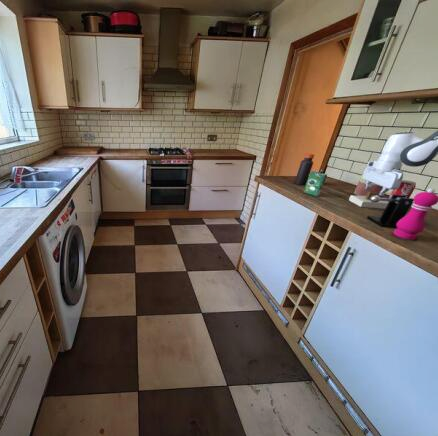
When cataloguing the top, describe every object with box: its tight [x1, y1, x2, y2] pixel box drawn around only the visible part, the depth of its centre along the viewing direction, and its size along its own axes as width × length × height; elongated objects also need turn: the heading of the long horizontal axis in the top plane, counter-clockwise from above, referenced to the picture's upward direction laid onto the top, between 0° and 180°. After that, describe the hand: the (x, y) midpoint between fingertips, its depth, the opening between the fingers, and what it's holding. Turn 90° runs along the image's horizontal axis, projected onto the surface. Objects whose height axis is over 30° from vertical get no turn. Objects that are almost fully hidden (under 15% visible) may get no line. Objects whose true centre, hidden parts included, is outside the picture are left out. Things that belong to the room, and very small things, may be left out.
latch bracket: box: [366, 194, 414, 229], centre depth 99 cm, size 12×9×13 cm
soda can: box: [388, 179, 417, 202], centre depth 121 cm, size 7×7×13 cm
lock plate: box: [348, 194, 389, 210], centre depth 122 cm, size 14×10×3 cm
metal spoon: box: [370, 195, 404, 203], centre depth 97 cm, size 13×3×3 cm, turn 81°
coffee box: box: [303, 170, 328, 197], centre depth 133 cm, size 8×3×13 cm, turn 26°
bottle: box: [294, 153, 315, 186], centre depth 151 cm, size 7×7×20 cm
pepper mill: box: [393, 187, 438, 241], centre depth 87 cm, size 7×7×20 cm
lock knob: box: [365, 192, 381, 199], centre depth 121 cm, size 5×2×4 cm, turn 81°
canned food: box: [353, 173, 383, 196], centre depth 135 cm, size 11×11×12 cm
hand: (373, 192), depth 120 cm, fingers open, 8 cm apart
